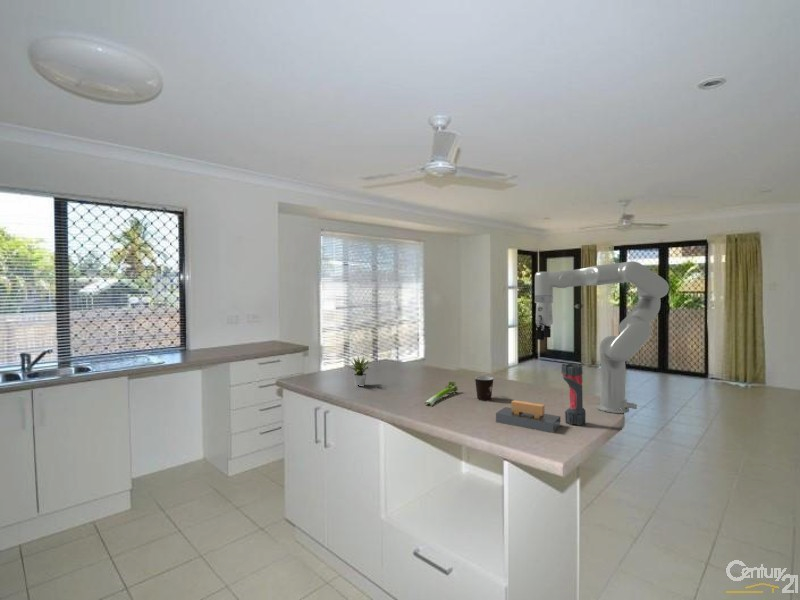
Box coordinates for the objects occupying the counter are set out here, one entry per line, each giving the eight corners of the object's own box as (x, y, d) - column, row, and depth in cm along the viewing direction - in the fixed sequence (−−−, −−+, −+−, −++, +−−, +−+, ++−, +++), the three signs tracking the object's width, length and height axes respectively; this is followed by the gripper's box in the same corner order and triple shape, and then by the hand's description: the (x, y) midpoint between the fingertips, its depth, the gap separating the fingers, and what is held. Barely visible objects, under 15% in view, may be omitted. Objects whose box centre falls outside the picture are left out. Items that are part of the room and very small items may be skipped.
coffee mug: (482, 402, 193) (482, 380, 192) (471, 398, 200) (471, 377, 200) (502, 399, 198) (502, 378, 198) (490, 394, 206) (490, 374, 205)
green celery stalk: (420, 409, 189) (447, 389, 215) (434, 413, 186) (460, 393, 212) (421, 396, 188) (448, 378, 214) (435, 400, 185) (461, 381, 211)
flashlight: (556, 421, 165) (557, 363, 164) (571, 419, 168) (572, 362, 167) (572, 427, 157) (572, 367, 157) (587, 424, 161) (587, 365, 160)
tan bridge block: (544, 425, 160) (544, 404, 160) (541, 427, 158) (542, 406, 158) (514, 419, 167) (514, 399, 167) (511, 421, 165) (511, 401, 165)
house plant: (372, 389, 218) (372, 358, 217) (346, 389, 218) (345, 358, 217) (374, 383, 232) (374, 353, 232) (349, 383, 232) (349, 354, 232)
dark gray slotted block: (560, 425, 160) (560, 416, 160) (553, 432, 152) (553, 423, 152) (505, 415, 173) (505, 407, 173) (495, 421, 165) (495, 413, 165)
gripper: (546, 300, 175) (546, 341, 175) (557, 299, 189) (557, 336, 190) (528, 300, 179) (528, 339, 180) (541, 299, 193) (540, 335, 194)
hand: (543, 338), depth 185 cm, fingers open, 9 cm apart
